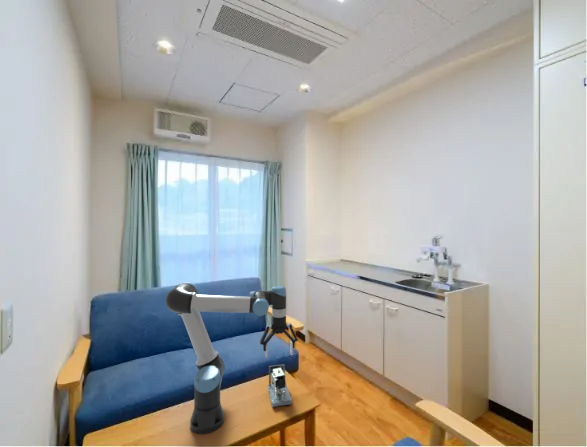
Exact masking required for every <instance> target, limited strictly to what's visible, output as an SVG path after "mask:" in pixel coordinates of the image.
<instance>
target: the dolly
mask: <svg viewBox="0 0 587 447" xmlns="http://www.w3.org/2000/svg"><path fill="white" fill-rule="evenodd" d="M279 367H281V368H282V371H283V372H284V374H285V375H286V369H285V368H286V365H285V363H282V364H275V365H269V366H268V385H267V390H268V395H269V399H270V403H271V407H272V409H276V408H277V407H280V406H286V405H287V407H291V405H292V404H293V400H292V397H291V394H290V391H289V389H288V385H287V384H286V385H285V388H283V389H282V392H283V393H282V394H278V395H277V394H276V392H275V385H274V384H272V383H271V373H272V372H271V371H272V369H274V368H279Z"/></svg>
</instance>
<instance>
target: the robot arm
mask: <svg viewBox="0 0 587 447" xmlns="http://www.w3.org/2000/svg"><path fill="white" fill-rule="evenodd" d="M165 305H166V307H167V308H168V310H169V311H170V312H173V313H176V314H177V315H178V316H181V319H182V321H183V324H184V326H185V329H186V331H187V334H188V337H189V339H190V342H191V345H192V348H193V350H194V353H195V356H196V358H197V360H196V362H195V365H196V368H197V371H196V373H195V375H194V378H193V386H194V387H193V388H194V390H193V393H194V394H193V395H194V396H193V397H194V401H193V403H194V405H193V406H194V407H193V410H192V414H191V417H190V421H189V422H190V424H189V426H190V429H191V431H192V432H194V433H195V434H200V435H205V434H210V433H212V432H214V431H216V430H218V429H219V428H221V426H222V425H223V423H224V422H225V413H224V412H225V411H224V409H223V407H222V403H221V387H222V386H221V384H222V380H223V377H224V376H223V375H224V373H225V367H226V366H225V360H224V359H223V357H222V356H221V355H219V352H218V351H217V350H215V349H214V348H213V344H212V342H211V339H210V336H209V334H208V331H207V328H206V326H205V323H204V320H203V318H202V315H201V312H203V313H205V312H206V313H235V314H236V313H239V314H241V313H242V314H245V313H246V314H255V315H256V316H259V317H262V316H265V315H266V314H267V313H268V311H269V308H270V306H271V308H272V309H271V316H272V317H271V325H268V324H266V325H265V330H264V332H263V334H262V336H261V338H260V340H259V343H260V344H259V345H263V352H265V358H266V359H268V343H269V342H270V341H271V339H272V338H273V337H274V336H275V334H276V335H279V334H280V335H281V334H285V335H286V337H287V338H289V340H290V341H289V342H290V344H289V346H290V348H289V350H290V351H289V354H290V355H291V356H293V355H294V354H293V353H294V352H293V350H294V349H295V347H296V346H295V344H296V342H298V341H299V338H298V337H297V335H296V333H295V332H294V329H293V324H292V323H291V322H288V323H287V289H286V287H285V286H283V285H276V286H275V285H274V286H272V288H271V289H270V290H254V291H250V292H249V296H242V295H240V296H239V295H214V294H199V292H198V287H196V285H195V284H193V283H191V282H188V281H187V282H186V281H185V282H182V283H179V284H177V285H176V286H175V287H173V289H171V290H170V291H169V292H168V293H167V295H166V297H165ZM287 328H288V329H289V331H291V334H292V336H293V337H292V336H291V335H290V333H289V332H288V331H287ZM270 330H271V331H270ZM269 331H270V333H269ZM268 333H269V334H268Z"/></svg>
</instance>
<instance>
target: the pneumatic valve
mask: <svg viewBox="0 0 587 447" xmlns="http://www.w3.org/2000/svg"><path fill="white" fill-rule="evenodd" d="M271 371H272V372H271V378H272V381H273V383H274V385H275V392H276V394H277V395H278V394H282V393H283V392H282V389H283V388H285V385H287V382H286V373H285V374H284V372H283V368H282V367H279V368H271Z"/></svg>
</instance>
